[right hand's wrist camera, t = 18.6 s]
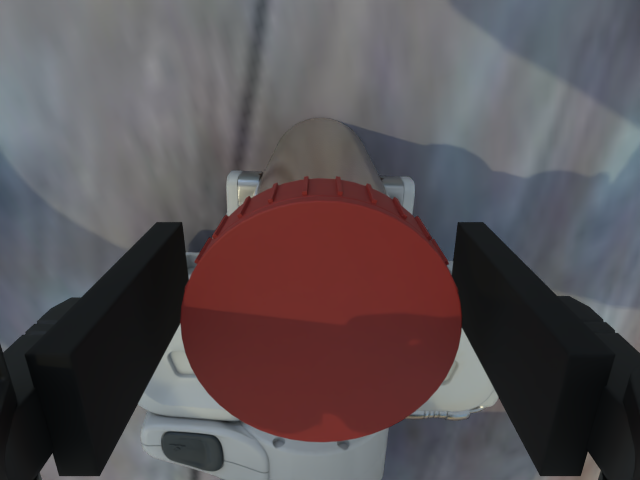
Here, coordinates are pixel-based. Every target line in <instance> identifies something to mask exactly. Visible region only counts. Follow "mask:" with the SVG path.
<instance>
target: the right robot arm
mask: <svg viewBox="0 0 640 480" xmlns="http://www.w3.org/2000/svg"><path fill="white" fill-rule="evenodd" d="M452 277H453V280H454V282H455V284H456V286H457V288H458V294H459V298H460V303H461V311H462V329H463V331H464V333H465V335H466V336H467V338H468V340H469V342H470V344H471V346H472V348H473V350H474V352H475V354H476V355H477V357H478V359H479V361H480V363H481V365H482V367H483V369H484V371H485V372H486V374H487V376H488V378H489V380H490V382H491V384H492V386H493V388H494V389H495V391H496V393H497V395H498V397H499V399H500V401H501V403H502V405H503V406H504V408H505V410H506V412H507V414H508V416H509V418H510V420H511V422H512V423H513V425H514V427H515V429H516V431H517V433H518V435H519V437H520V439H521V440H522V442H523V444H524V446H525V448H526V450H527V452H528V454H529V456H530V457H531V459H532V461H533V463H534V465H535V467H536V469H537V471H538V473H539V475H540V476H581V473H582V470H583V466H584V463H585V459H586V456H587V452H589V453H590V455H591V456H592V458H593V459H594V461H595V462H596V464H597V465H598V467H599V468H600V470H601V472H600V475H599V478H598V480H640V353H639V352H638V351H637V350H636V349H635V348H634V347H632V346H631V345H630V344H629V343H628V342H627V341H626V340H625V339H624V338H623V337H622V336H621V335H619V334H618V333H615V330H614V329H613V328H612V327H611V326H610V325H609V324H607V323H606V322H603V319H602V318H601V317H600V316H599V315H598V314H597V313H595V312H594V311H593V310H592V309H591V308H590V307H589V306H587V305H585V304H583V303H581V302H579V301H577V300H575V299H574V298H572V297H570V296H557V295H556V294H555V293H554V292H552V291H551V290H550V289H549V288H548V287H547V286H546V285H545V284H544V283H543V282H542V281H541V280H540V279H539V278H538V277H537V276H536V275H535V274H534V273H533V272H532V271H531V270H530V269H529V268H528V267H527V266H526V265H525V264H524V263H523V262H522V261H521V260H520V259H519V258H518V257H517V256H516V255H515V254H514V253H513V252H512V251H511V250H510V249H509V248H508V247H507V246H506V245H505V244H504V243H503V242H502V241H501V240H500V239H499V238H498V237H497V236H496V235H495V234H494V233H493V232H492V231H491V230H490V229H489V228H488V227H487V226H486V225H485V224H484V223H483V222H458V226H457V234H456V242H455V251H454V259H453V268H452ZM188 281H189V276H188V268H187V259H186V251H185V242H184V234H183V226H182V222H157V223H156V224H155V225H154V226H153V227H152V228H151V229H150V230H149V231H148V232H147V233H146V234H145V235H144V236H143V237H142V238H141V239H140V240H139V241H138V242H137V243H136V244H135V245H134V246H133V247H132V248H131V249H130V250H129V251H128V252H127V253H126V254H125V255H124V256H123V257H122V258H121V259H120V260H119V261H118V262H117V263H116V264H115V265H114V266H113V267H112V268H111V269H110V270H109V271H108V272H107V273H106V274H105V275H104V276H103V277H102V278H101V279H100V280H99V281H98V282H97V283H96V284H95V285H94V286H92V287H91V288H90V289H89V290H88V291H87V292H86V293H85V294H84V295H83V296H82V297H81V298H70V299H68V300H66V301H64V302H62V303H60V304H58V305H57V306H55V307H53V308H51V309H50V310H49V311H48V312H47V313H46V314H44V315H43V316H42V317H41V318H40V319H39V320H38V321H37V324H34V325H33V326H32V327H30V328H29V329H28V330H27V331H26V334H25V335H22V336H21V337H20V338H19V339H17V340H16V341H15V342H14V343H13V344H12V345H11V346H10V347H9V348H8V349H7V350H6V351H5V352H3V351H2V348H1V345H0V480H42V478H41V475H40V471H41V469H42V468H43V466H44V465H45V463H46V462H47V460H48V459H49V457H50V456H51V454H52V453H53V456H54V459H55V463H56V466H57V470H58V473H59V476H100V474H101V473H102V471H103V469H104V467H105V465H106V463H107V461H108V459H109V457H110V456H111V454H112V452H113V450H114V448H115V446H116V444H117V442H118V440H119V439H120V437H121V435H122V433H123V431H124V429H125V427H126V425H127V423H128V422H129V420H130V418H131V416H132V414H133V412H134V410H135V408H136V406H137V405H138V403H139V401H140V399H141V397H142V395H143V393H144V391H145V389H146V388H147V386H148V384H149V382H150V380H151V378H152V376H153V374H154V372H155V371H156V369H157V367H158V365H159V363H160V361H161V359H162V357H163V355H164V353H165V352H166V350H167V348H168V346H169V344H170V342H171V340H172V338H173V336H174V335H175V333H176V331H177V329H178V327H179V325H180V319H181V305H182V301H183V297H184V292H185V290H184V289H185V286H186V284H187V282H188Z"/></svg>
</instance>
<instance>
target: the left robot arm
mask: <svg viewBox="0 0 640 480" xmlns="http://www.w3.org/2000/svg"><path fill="white" fill-rule="evenodd" d="M262 175H263V172H253V171H231V172H230V174H229V175H228V177H227V185H226V191H227V213H226V215H228V216H230V215H231V214H232V213H233V212H234V211H235V210H236V209H237V208H238V207H239V206H241V205H242V204H243V203H244V201H245V199H246V198H247V197H248V196H250V197H252V195H253V193H254V191H255V189H256V187H257V185H258V183H259V181H260V179H261V177H262ZM380 178H381V180H382V182H383V184H384V186H385V188H386V190H387V192H388V194H389V196H390V198H391V199H393V198H394V197H396V198H397V199H398V200H399V202H400V204H401V206H403V207H404V208H405V209H406V210H407V211H408V212H410V213H411V214H412V215H413V206H414V197H415V184H414V181H413V180H412V179H411V177H400V176H380ZM212 239H213V238H212ZM198 255H199V253H197V252H186V259H187V268H188V276H189V279H190V276H191V274H192V272H193V270H194V269H195V267H196V265H197V264H196V263H194V261H195V260H196V258H197V256H198ZM448 262H449V265H447V267H448V269H449V271H450V273H451V275H452V268H453V261H448ZM497 399H498V395H497V393H496V391H495V389H494V388H493V386H492V384H491V382H490V380H489V378H488V376H487V374H486V372H485V371H484V369H483V367H482V365H481V363H480V361H479V359H478V357H477V355H476V354H475V352H474V350H473V348H472V346H471V344H470V342H469V340H468V338H467V336H466V335H465V333H464V331H463V329H462V332H461V338H460V343H459V348H458V351H457V354H456V357H455V360H454V363H453V365H452V367H451V369H450V371H449V373H448V375H447V377H446V378H445V380H444V381H443V382H442V384H441V385H440V387H439V388H438V390H437V391H436V392H435V393H434V394H433V395H432V396H431V397H430V398H429V400H428V401H427V402H426V403H424V404H423V405H422V406H421V407H420V408H419V409H417V410H416V411H415V412H414V413H412V414H411V415H409V416H408V417H406V418H405V419H427V418H445V420H465V419H468V418H469V417H470V413H476V412H479V411H482V410H483V409H485V408H487V407H490V406H493V405H494V404H495V403H496V401H497ZM138 405H139V406H141V407H142V408H144V409H145V410H147V413H146V416H145V420H144V423H143V426H142V430H141V444H142V447H143V449H144V451H145V452H146V453H147V454H148V455H150V456H152V457H154V458H157V459H160V460H163V461H167V462H171V463H174V464H178V465H182V466H185V467H189V468H192V469H195V470H199V471H202V472H205V473H208V474H210V475H213V476H216V477H218V478H221V479H223V480H382V477H383V472H384V464H385V456H386V447H387V438H388V431H389V428H386V429H384V430H381V431H379V432H376V433H374V434H371V435H367V436H364V437H360V438H356V439H350V440H345V441H336V442H305V441H298V440H291V439H287V438H282V437H278V436H274V435H272V434H269V433H266V432H263V431H260V430H258V429H256V428H254V427H252V426H250V425H248V424H246V423H244V422H242V421H241V420H239V419H238V418H236V417H234V416H233V415H231V414H230V413H229V412H227V411H226V410H225V409H224V408H222V407H221V406H220V405H219V404H218V403H217V402H216V401H215V400H214V399H213V398H212V397H211V396H210V395H209V394H208V393H207V391H206V390H205V389H204V387H203V386H202V385H201V384H200V382H199V381H198V379H197V377H196V375H195V374H194V372H193V370H192V368H191V366H190V364H189V361H188V359H187V356H186V354H185V350H184V345H183V341H182V336H181V324H180V325H179V327H178V329H177V331H176V333H175V335H174V336H173V338H172V340H171V342H170V344H169V346H168V348H167V350H166V352H165V353H164V355H163V357H162V359H161V361H160V363H159V365H158V367H157V369H156V371H155V372H154V374H153V376H152V378H151V380H150V382H149V384H148V386H147V388H146V389H145V391H144V393H143V395H142V397H141V399H140V401H139V403H138Z"/></svg>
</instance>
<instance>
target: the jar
mask: <svg viewBox="0 0 640 480" xmlns="http://www.w3.org/2000/svg"><path fill="white" fill-rule="evenodd" d="M305 176H308V177H309V179H315V178H325V179H336V176H338V177H340V178H341V180H345V181H350V182H355V183H358V184H361V185H364V186H366V184H367V183H368V184H370V185H371V186H372V189H375V190H377V191H379V192H381V193H383V194H385V195H387V196H388V197H390V196H389V194H388V192H387V190H386V188H385V186H384V184H383V182H382V180H381V178H380V176H379V174H378V172H377V170H376V169H375V167H374V165H373V163H372V161H371V159H370V157H369V155H368V153H367V151H366V149H365V147H364V145H363V143H362V141H361V140H360V138H359V137H358V136H357V134H356V133H355V132H354V131H353V130H352V129H350V128H349V127H348V126H346V125H344V124H343V123H341V122H338V121H336V120H332V119H327V118H314V119H309V120H305V121H303V122H300V123H298V124H296V125H295V126H293V127H292V128H291V129H289V130H288V131H287V132H286V133H285V134H284V135H283V137H282V138H281V140H280V141H279V143H278V145H277V147H276V149H275V151H274V153H273V155H272V157H271V159H270V161H269V163H268V165H267V167H266V169H265V171H264V173H263V175H262V177H261V179H260V181H259V183H258V185H257V187H256V189H255V191H254V193H253V195H252V197H254V196H256V195H258V194H259V193H261V192H263V191H265V190H267V189H270V188H272V186H273V184H275V183H278V185H281V184H284V183H288V182H293V181H297V180H303V179H304V177H305ZM252 197H251V198H252Z"/></svg>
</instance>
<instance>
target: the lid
mask: <svg viewBox="0 0 640 480" xmlns="http://www.w3.org/2000/svg"><path fill="white" fill-rule="evenodd" d="M212 238H213V239H212ZM212 238H210V237H209V239H208V240H207V242H206V243H205V245H204V247H203V248H202V250H201V251H200V253H199V255H198V256H197V258H196V260H195V261H194V263H196V264H197V265H196V267H195V269H194V270H193V272H192V274H191V276H190V279H189V281H188V282H187V284H186V286H185V289H184V290H185V292H184V297H183V301H182V305H181V319H180V324H181V336H182V341H183V345H184V350H185V354H186V356H187V359H188V361H189V364H190V366H191V368H192V370H193V372H194V374H195V375H196V377H197V379H198V381H199V382H200V384H201V385H202V386H203V387H204V389H205V390H206V391H207V393H208V394H209V395H210V396H211V397H212V398H213V399H214V400H215V401H216V402H217V403H218V404H219V405H220V406H221V407H222V408H224V409H225V410H226V411H227V412H229V413H230V414H231V415H233V416H234V417H236V418H238V419H239V420H241V421H242V422H244V423H246V424H248V425H250V426H252V427H254V428H256V429H258V430H260V431H263V432H266V433H269V434H272V435H274V436H278V437H282V438H287V439H291V440H298V441H305V442H336V441H345V440H350V439H356V438H360V437H364V436H367V435H371V434H374V433H376V432H379V431H381V430H384V429H386V428H389V427H390V426H392V425H394V424H396V423H398V422H400V421H402V420H403V419H405V418H406V417H408V416H409V415H411V414H412V413H414V412H415V411H416V410H417V409H419V408H420V407H421V406H422V405H423V404H424V403H426V402H427V401H428V400H429V398H430V397H431V396H432V395H433V394H434V393H435V392H436V391H437V390H438V388H439V387H440V385H441V384H442V382H443V381H444V380H445V378H446V377H447V375H448V373H449V371H450V369H451V367H452V365H453V363H454V360H455V357H456V354H457V351H458V348H459V343H460V338H461V332H462V311H461V303H460V298H459V294H458V288H457V286H456V284H455V282H454V280H453V277H452V275H451V273H450V271H449V269H448V267H447V265H449V262H448V260H447V259H446V257H445V256H444V254H443V252H442V251H441V249H440V248H439V246H438V245H437V243H436V241H435V240H434V239H432V237H431V236H430V234H429V232H428V231H427V229H426V228H425V226H424V224H423V223H422V221H421V220H420V218H419V217H418V216H416V217H415V218H414V217H413V215H412V214H411V213H410V212H408V211H407V210H406V209H405V208H404V207H403V206H401V204H400V202H399V200H398V199H397V198H396V197H394V198H393V199H391V198H390V197H388V196H387V195H385V194H383V193H381V192H379V191H377V190H375V189H372V186H371V185H370V184H368V183H367V184H366V186H364V185H361V184H358V183H355V182H350V181H345V180H341V178H340V177H338V176H336V179H325V178H315V179H309V177H308V176H305V177H304V179H303V180H297V181H293V182H288V183H284V184H281V185H278V183H275V184H273V186H272V188H270V189H267V190H265V191H263V192H261V193H259V194H258V195H256V196H254V197H252V198H251V197H250V196H248V197H247V198H246V199H245V201H244V203H243V204H242V205H241V206H239V207H238V208H237V209H236V210H235V211H234V212H233V213H232V214H231V215H230V216H228V215H225V216H224V217H223V219H222V221H221V222H220V224H219V226H218V227H217V229H216V231H215V232H214V234H213V235H212ZM431 239H432V240H431Z"/></svg>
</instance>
